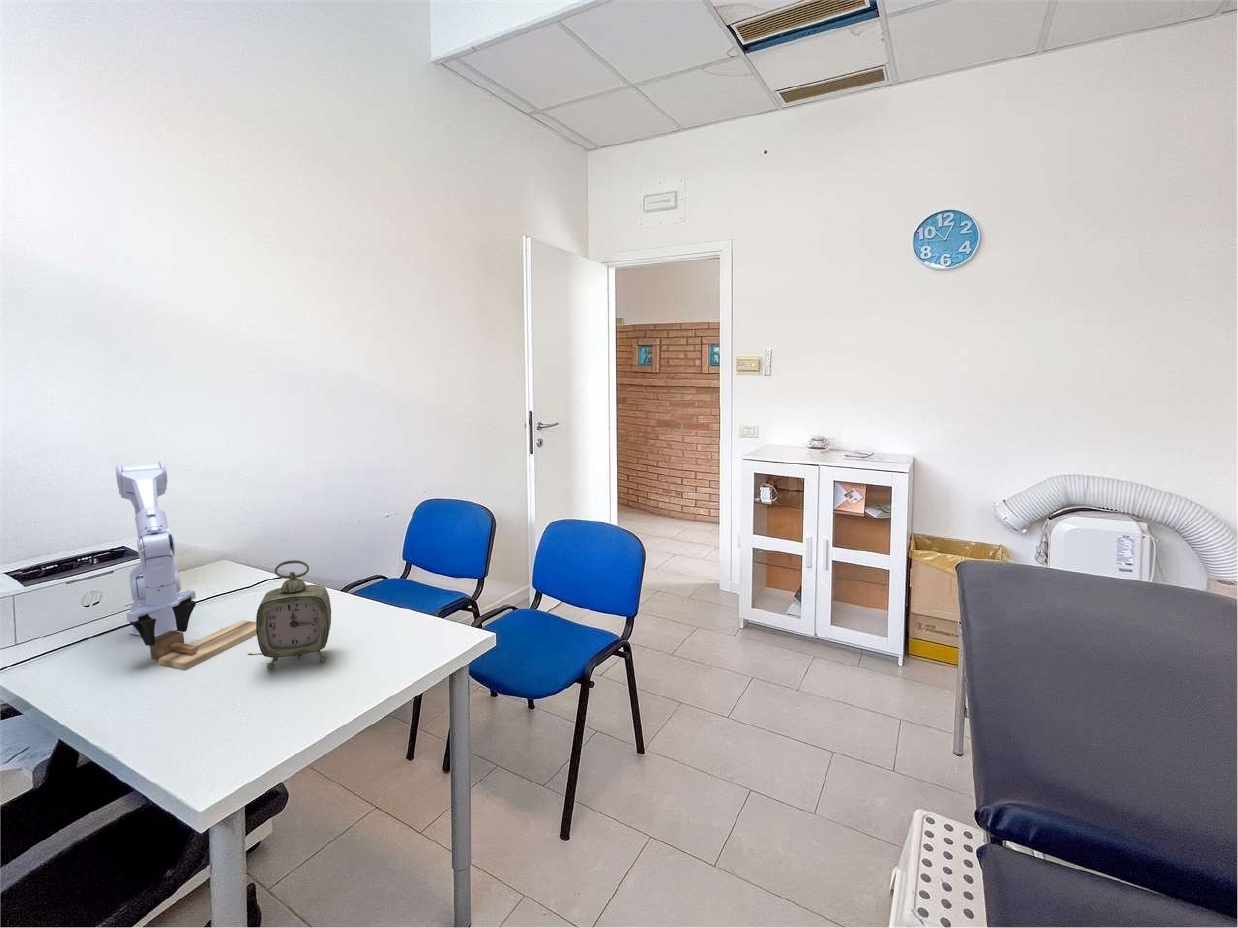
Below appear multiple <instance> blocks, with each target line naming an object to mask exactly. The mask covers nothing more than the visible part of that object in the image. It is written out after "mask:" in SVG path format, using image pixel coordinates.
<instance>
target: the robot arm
mask: <svg viewBox="0 0 1238 928" xmlns="http://www.w3.org/2000/svg"><path fill="white" fill-rule="evenodd" d="M115 476H116V483H117V488H118V494H119V495H120V498H121V499H125V500H129V501H130V502H131V505H132V506H133V508H134V515H135V517H134V520H135V525H136V526H135V527H136V532H137V537H138V538H137V541H136V546H137V553H138V558H139V560H140V563H139V564H138V565H136V566H135V567H134V568H132V569H131V571H130V573H129V585H130V594H131V599H132V601H133V602H132V604H131V607H130V611H128V612H126V620H127V621H128V622H129V623H130V624H131V625H132V630H130V631H129V635H136V636H140V637H141V638H142V640H143V643H144V645H145V646H147V647H150V646H154V645H155V637H156V636H158V635H160V634H163V633H165V632H167V631H170V630H172V631H177V632H183V633H185V632H187V631H188V626H189V621H190V617H191V614H192V612H193V610H194V609H195V607H196V605H197V603H196V601H195V599H196V591H195V590H192V589H191V590H190V589H189V590H185V591H182V592H180V591H181V589H182V588H181V580H180V574H179V571H178V566H177V565H176V564H175V562H174V556H175V552H176V544H175V538H174V536H173V534H172V532H171V528H169V525H168V520H167V516H166V512H165V511H164V510H163V509H161V508H159V506H158V502H159V501H158V498H159V497H160V496H163V495H165V494H166V491H167V486H168V472H167V467H166V463H165V462H163V461H159V462H147V463H145V462H144V463H132V464H131V463H130V464H117V465H116V466H115ZM171 553H172V554H171Z"/></svg>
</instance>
